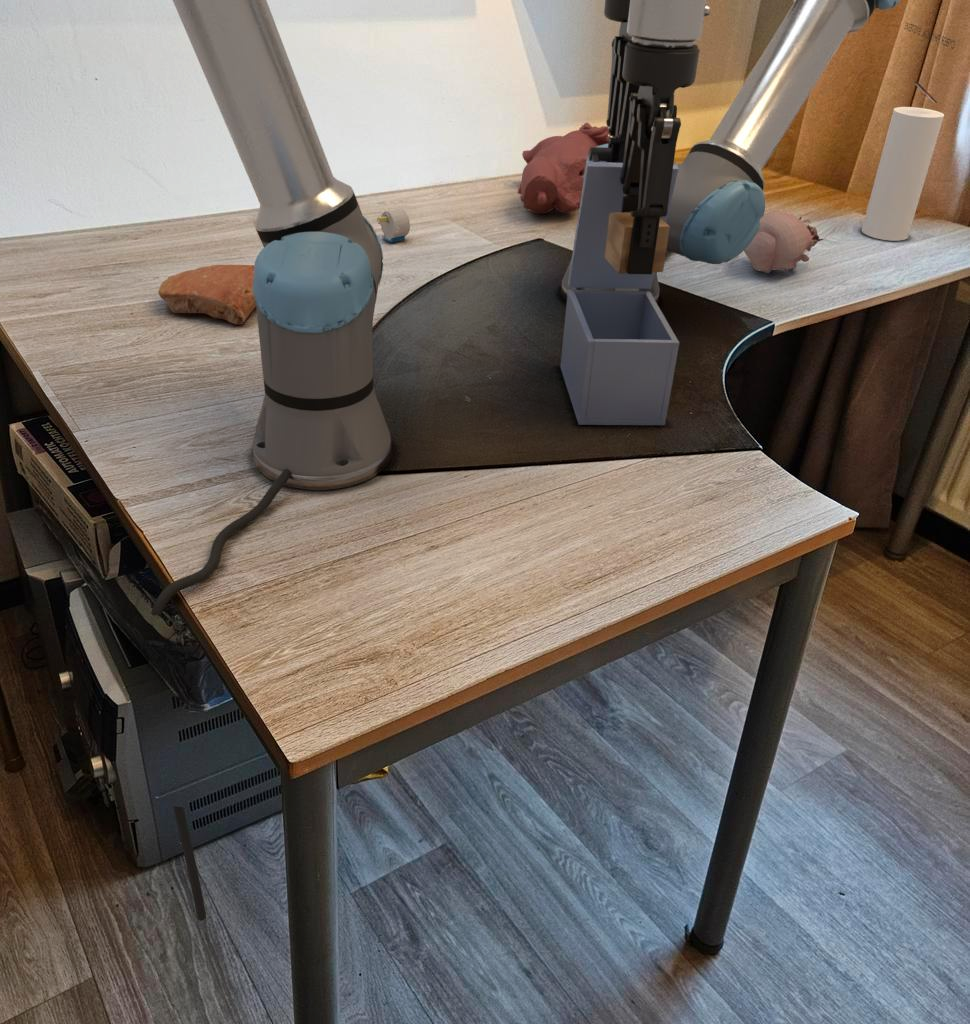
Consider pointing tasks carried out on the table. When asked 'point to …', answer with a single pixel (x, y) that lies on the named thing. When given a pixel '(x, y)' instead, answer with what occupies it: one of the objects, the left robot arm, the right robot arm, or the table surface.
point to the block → (621, 241)
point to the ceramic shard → (212, 292)
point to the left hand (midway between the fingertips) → (633, 262)
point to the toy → (781, 242)
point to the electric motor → (394, 225)
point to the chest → (617, 357)
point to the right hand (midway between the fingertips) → (615, 194)
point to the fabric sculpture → (558, 169)
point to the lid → (602, 226)
